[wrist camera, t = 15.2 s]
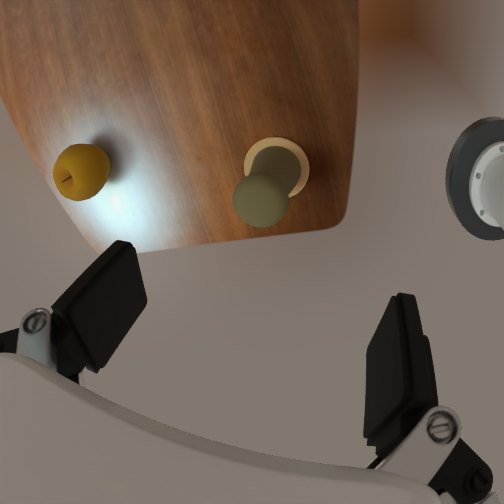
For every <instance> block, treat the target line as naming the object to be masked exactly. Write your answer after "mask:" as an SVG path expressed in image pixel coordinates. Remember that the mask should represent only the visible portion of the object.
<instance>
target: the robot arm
mask: <svg viewBox="0 0 504 504" xmlns="http://www.w3.org/2000/svg"><path fill="white" fill-rule="evenodd" d="M469 195H470V200H471V204H472V206H473V208H474V210H475V212H476V213H477V215H478V216H479V217H480V218H481V219H482V220H483V221H484V222H485V223H487V224H489V225H491V226H496V227H502V229H503V230H504V141H499V142H496V143H493V144H491V145H490V146H488V147H487V148H486V149H485V150H483V151H482V152H481V154H480V155H479V157H478V158H477V160H476V162H475V164H474V166H473V168H472V171H471V175H470V181H469ZM146 304H147V296H146V292H145V288H144V284H143V280H142V276H141V271H140V267H139V263H138V258H137V254H136V250H135V248H134V247H133V245H132V244H131V243H130V242H126V241H121V240H116V241H115V242H114V243H113V244H112V245H111V246H110V247H109V248H108V249H106V250H105V251H104V252H103V253H102V254H101V255H100V256H99V257H98V258H97V259H96V260H95V261H94V262H93V263H92V264H91V265H90V266H89V267H88V268H87V269H86V270H85V271H84V272H83V273H82V274H81V275H80V276H79V277H78V278H77V279H76V280H75V282H74V283H73V284H72V285H71V286H70V287H69V288H68V289H67V290H66V291H65V292H64V293H63V294H62V295H61V296H60V298H58V300H57V301H56V302H55V303H54V304H53V305H52V306H51V308H52V310H53V313H52V314H50V312H49V311H48V310H47V309H45V308H36V309H34V310H31V311H30V312H28V313H27V314H26V315H25V316H24V317H23V319H22V320H21V323H20V327H19V328H17V329H14V330H10V331H7V332H4V333H0V504H500V502H499V499H498V497H497V495H496V493H495V492H493V493H492V492H491V488H492V483H493V475H492V471H491V469H490V468H489V466H488V465H487V464H486V463H485V462H484V461H483V460H482V459H481V458H480V457H479V456H478V455H477V454H476V453H475V452H474V451H473V450H472V449H471V448H470V447H469V446H468V445H467V444H466V443H465V442H464V441H463V440H462V439H461V438H460V435H461V430H462V426H461V421H460V419H459V417H458V415H457V414H456V413H455V412H454V411H453V410H452V409H450V408H449V407H445V406H438V396H437V388H436V380H435V373H434V366H433V360H432V354H431V349H430V343H429V339H428V337H427V336H426V335H423V331H422V325H421V320H420V316H419V311H418V306H417V302H416V298H415V296H414V295H411V294H405V293H398V294H397V296H392V297H391V299H390V301H389V303H388V306H387V308H386V310H385V312H384V315H383V317H382V319H381V321H380V323H379V325H378V327H377V329H376V331H375V334H374V336H373V337H372V339H371V341H370V343H369V345H368V348H367V353H366V396H365V416H364V431H363V436H364V438H367V446H376V455H377V456H376V457H375V458H374V459H373V460H372V461H371V462H370V463H369V464H368V465H367V466H366V467H365V468H356V467H347V466H337V465H329V464H321V463H314V462H307V461H301V460H295V459H289V458H283V457H278V456H273V455H267V454H263V453H259V452H254V451H250V450H246V449H242V448H238V447H233V446H230V445H226V444H223V443H219V442H216V441H212V440H209V439H205V438H202V437H199V436H196V435H193V434H190V433H187V432H184V431H181V430H179V429H176V428H173V427H170V426H167V425H165V424H162V423H160V422H157V421H155V420H152V419H150V418H147V417H145V416H142V415H140V414H138V413H135V412H133V411H131V410H129V409H127V408H124V407H122V406H120V405H118V404H116V403H114V402H112V401H109V400H107V399H105V398H103V397H101V396H99V395H97V394H95V393H93V392H92V391H90V390H88V389H86V388H85V387H84V379H83V369H84V367H86V368H87V369H88V370H90V371H92V372H94V373H98V371H99V370H100V368H103V367H104V366H105V365H106V364H107V362H108V361H109V359H110V358H111V356H112V354H113V353H114V352H115V350H116V349H117V347H118V346H119V344H120V343H121V341H122V340H123V338H124V337H125V335H126V334H127V333H128V331H129V329H130V328H131V326H132V325H133V324H134V322H135V321H136V319H137V318H138V317H139V315H140V314H141V312H142V311H143V310H144V308H145V307H146Z"/></svg>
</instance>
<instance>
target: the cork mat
mask: <svg viewBox="0 0 504 504" xmlns="http://www.w3.org/2000/svg"><path fill="white" fill-rule="evenodd" d="M270 146H282V147H284V148H287V149H289V150H290V151H291V152H293V153H294V154H295V155H296V157H297V158H298V160H299V162H300V165H301V176H300V179H299V181H298V183H297V184H296V186H295V187H294V188H293V190H292V191H291V193H290V194H289V195H288V196H289V198H290V197H292V196H294V195H296V194H297V193H299V192H300V191H301V190H302V189H303V188H304V186H305V185H306V183H307V180H308V177H309V171H310V168H309V161H308V158H307V156H306V154H305V152H304V151H303V150H302V148H301V147H300V146H299V145H297V144H296V143H295V142H293V141H291V140H289V139H286V138H283V137H268V138H264V139H262V140H260V141H258V142H257V143H255V144H254V145H253V146H252V147H251V148H250V150H249V151H248V153H247V155H246V157H245V161H244V171H245V175H246V176H248V175H249V172H250V169H251V166H252V163H253V160H254V157H255V156H256V155H257V153H258V152H259V151H261V150H262V149H264V148H266V147H270Z"/></svg>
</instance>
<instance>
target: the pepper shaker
mask: <svg viewBox="0 0 504 504" xmlns="http://www.w3.org/2000/svg"><path fill="white" fill-rule="evenodd" d="M300 176H301V165H300V162H299V160H298V158H297V157H296V155H295V154H294V153H293V152H291V151H290V150H289V149H287V148H284V147H282V146H270V147H266V148H264V149H262V150H261V151H259V152H258V153H257V155H256V156H255V157H254V160H253V163H252V166H251V169H250V172H249V175H248V176H246V177H245V178H243V179H242V180H241V181H240V182H239V184H238V185H237V186H236V188H235V191H234V194H233V206H234V209H235V211H236V213H237V214H238V216H239V217H240V218H241V219H242V220H243V221H244V222H246V223H247V224H249V225H252V226H254V227H262V228H263V227H269V226H272V225H274V224H276V223H278V222H279V221H280V220H281V219H282V218H283V217H284V216H285V214H286V211H287V209H288V206H289V196H288V195H289V194H290V193H291V191H292V190H293V188H294V187H295V186H296V184H297V183H298V181H299V179H300Z"/></svg>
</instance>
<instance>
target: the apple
mask: <svg viewBox="0 0 504 504" xmlns="http://www.w3.org/2000/svg"><path fill="white" fill-rule="evenodd" d="M110 168H111V163H110V158H109V157H108V155H107V153H106V152H105V151H103V150H102V149H100V148H98V147H97V146H95V145H91V144H75V145H71V146H69V147H68V148H67V149H65V150H64V151H63V152H62V153H61V154H60V156H59V157H58V159H57V161H56V163H55V165H54V169H53V178H54V181H55V184H56V187H57V188H58V190H59V192H60V193H61V194H62V195H63V196H64V197H66V198H68V199H71V200H74V201H82V200H86V199H90V198H91V197H93V196H95V195H96V194H97V193H98V192H99V191H100V190H101V189H102V188H103V186H104V184H105V183H106V181H107V179H108V177H109V173H110Z"/></svg>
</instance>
